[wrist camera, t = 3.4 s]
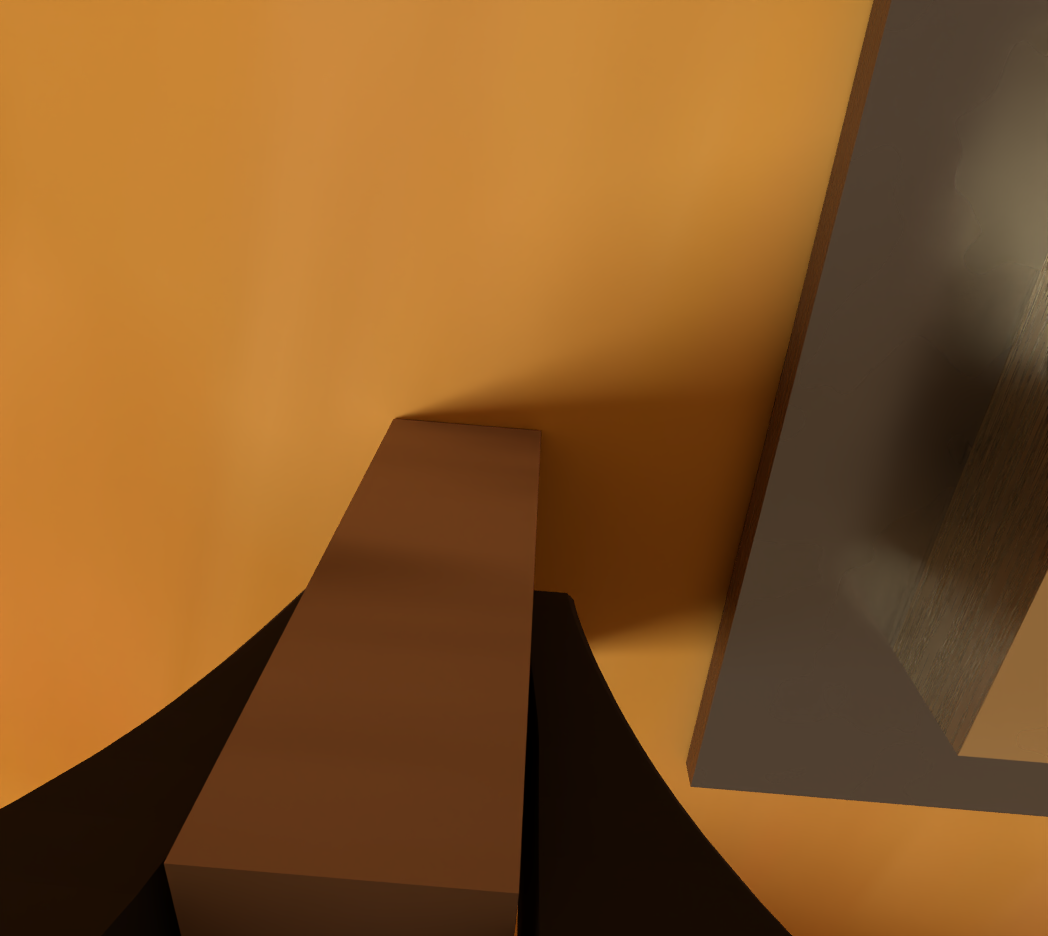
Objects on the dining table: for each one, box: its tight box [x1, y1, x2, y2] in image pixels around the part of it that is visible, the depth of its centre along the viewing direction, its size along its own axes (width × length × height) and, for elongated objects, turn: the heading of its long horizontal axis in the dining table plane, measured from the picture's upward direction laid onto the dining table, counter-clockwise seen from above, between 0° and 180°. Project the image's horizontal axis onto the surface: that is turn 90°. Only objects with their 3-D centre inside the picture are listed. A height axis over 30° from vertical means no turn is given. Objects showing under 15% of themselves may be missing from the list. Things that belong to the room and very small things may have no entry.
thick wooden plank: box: [164, 419, 541, 936], centre depth 10 cm, size 5×2×8 cm, turn 176°
